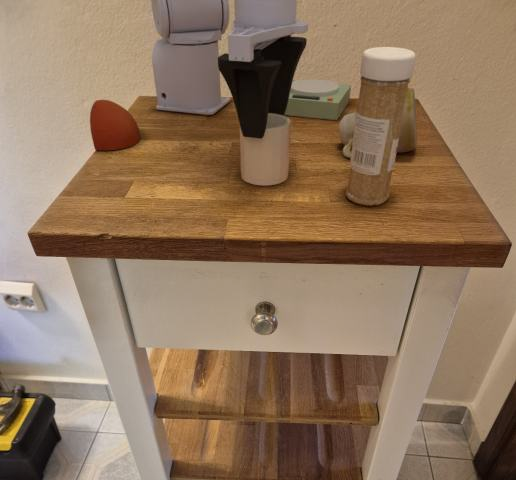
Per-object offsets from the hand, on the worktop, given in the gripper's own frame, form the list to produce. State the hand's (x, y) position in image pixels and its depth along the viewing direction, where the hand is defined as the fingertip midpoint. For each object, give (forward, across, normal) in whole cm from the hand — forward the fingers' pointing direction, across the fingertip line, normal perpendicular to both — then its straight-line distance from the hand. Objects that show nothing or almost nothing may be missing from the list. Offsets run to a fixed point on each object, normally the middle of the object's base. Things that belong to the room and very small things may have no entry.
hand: (264, 124), depth 50 cm
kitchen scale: (+6, +27, +1) cm, 28 cm away
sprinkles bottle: (+6, -2, -12) cm, 13 cm away
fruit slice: (+2, +6, +20) cm, 21 cm away
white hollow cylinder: (+6, 0, 0) cm, 6 cm away
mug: (+6, +12, -11) cm, 17 cm away
